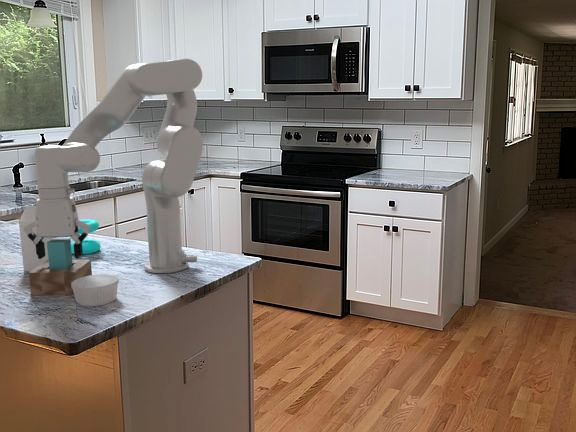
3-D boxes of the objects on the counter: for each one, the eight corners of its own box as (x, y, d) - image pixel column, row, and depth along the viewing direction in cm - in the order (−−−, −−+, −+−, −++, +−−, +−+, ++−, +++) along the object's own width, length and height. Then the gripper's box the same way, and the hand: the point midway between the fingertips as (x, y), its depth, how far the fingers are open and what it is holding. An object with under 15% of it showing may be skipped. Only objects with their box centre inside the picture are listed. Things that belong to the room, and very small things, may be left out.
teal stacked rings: (84, 217, 207) (105, 220, 201) (86, 246, 209) (107, 250, 203) (59, 223, 198) (80, 226, 193) (62, 253, 200) (83, 257, 195)
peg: (74, 281, 166) (70, 238, 164) (68, 286, 162) (64, 242, 160) (57, 281, 167) (53, 238, 164) (51, 286, 162) (46, 242, 160)
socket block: (92, 280, 170) (90, 259, 169) (77, 294, 159) (75, 272, 157) (49, 280, 171) (47, 260, 169) (30, 295, 159) (28, 272, 158)
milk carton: (45, 272, 178) (39, 208, 174) (23, 271, 180) (17, 207, 176) (59, 266, 185) (53, 203, 181) (38, 265, 187) (32, 203, 183)
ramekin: (65, 301, 154) (63, 280, 153) (105, 290, 162) (104, 271, 161) (86, 312, 146) (84, 290, 145) (128, 300, 154) (126, 280, 153)
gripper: (92, 190, 163) (97, 253, 166) (27, 191, 163) (33, 254, 167) (82, 195, 156) (87, 261, 159) (14, 196, 156) (21, 261, 159)
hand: (60, 257), depth 163 cm, fingers open, 9 cm apart
